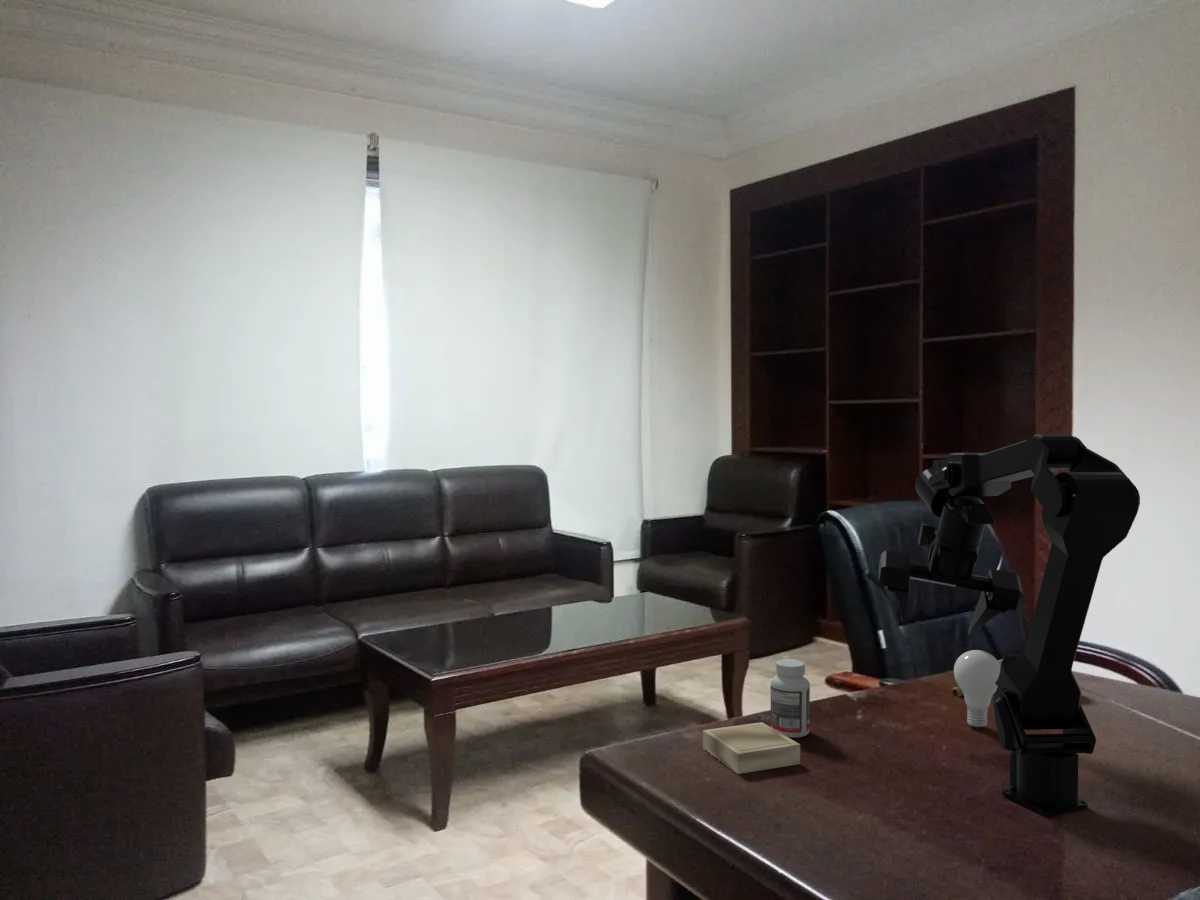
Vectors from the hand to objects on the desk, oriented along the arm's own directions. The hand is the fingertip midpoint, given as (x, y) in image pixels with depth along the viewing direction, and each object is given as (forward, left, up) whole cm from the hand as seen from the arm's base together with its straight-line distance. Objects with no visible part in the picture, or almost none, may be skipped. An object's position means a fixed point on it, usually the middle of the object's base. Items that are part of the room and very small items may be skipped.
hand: (936, 627), depth 128 cm
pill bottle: (+3, +23, -14) cm, 27 cm away
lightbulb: (-5, -3, -14) cm, 15 cm away
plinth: (-3, +33, -14) cm, 36 cm away
